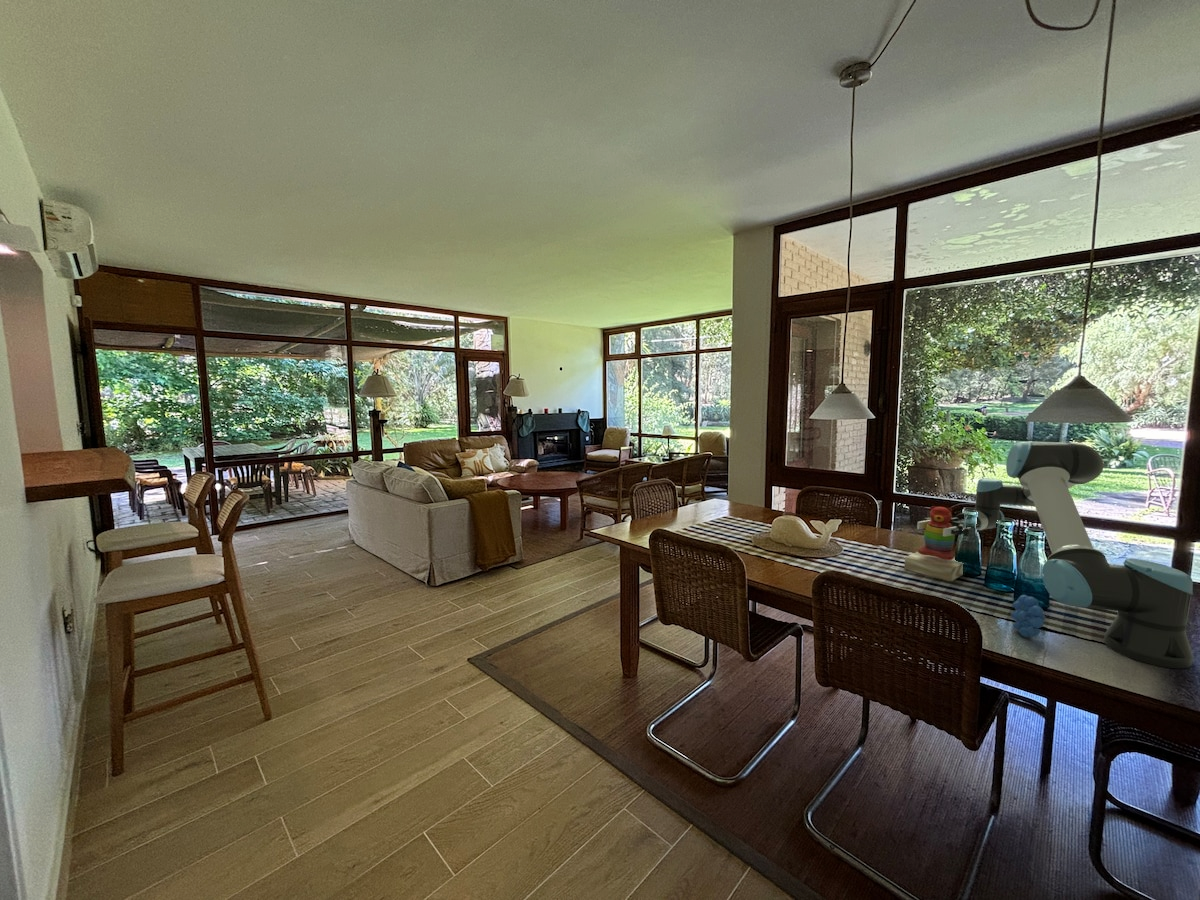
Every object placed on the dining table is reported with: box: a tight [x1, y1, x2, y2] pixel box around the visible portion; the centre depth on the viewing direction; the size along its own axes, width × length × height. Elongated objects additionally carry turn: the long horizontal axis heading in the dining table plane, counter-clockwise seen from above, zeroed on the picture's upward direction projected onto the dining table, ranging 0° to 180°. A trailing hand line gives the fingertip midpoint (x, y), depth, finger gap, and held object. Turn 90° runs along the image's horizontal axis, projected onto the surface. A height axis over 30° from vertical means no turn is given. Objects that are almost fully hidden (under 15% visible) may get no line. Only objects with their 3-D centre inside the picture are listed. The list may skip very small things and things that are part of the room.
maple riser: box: [904, 551, 964, 582], centre depth 181 cm, size 15×15×5 cm
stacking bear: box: [917, 505, 956, 560], centre depth 179 cm, size 11×10×18 cm
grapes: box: [1010, 594, 1047, 638], centre depth 133 cm, size 12×7×12 cm, turn 165°
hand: (930, 529), depth 178 cm, fingers closed on stacking bear, 9 cm apart
